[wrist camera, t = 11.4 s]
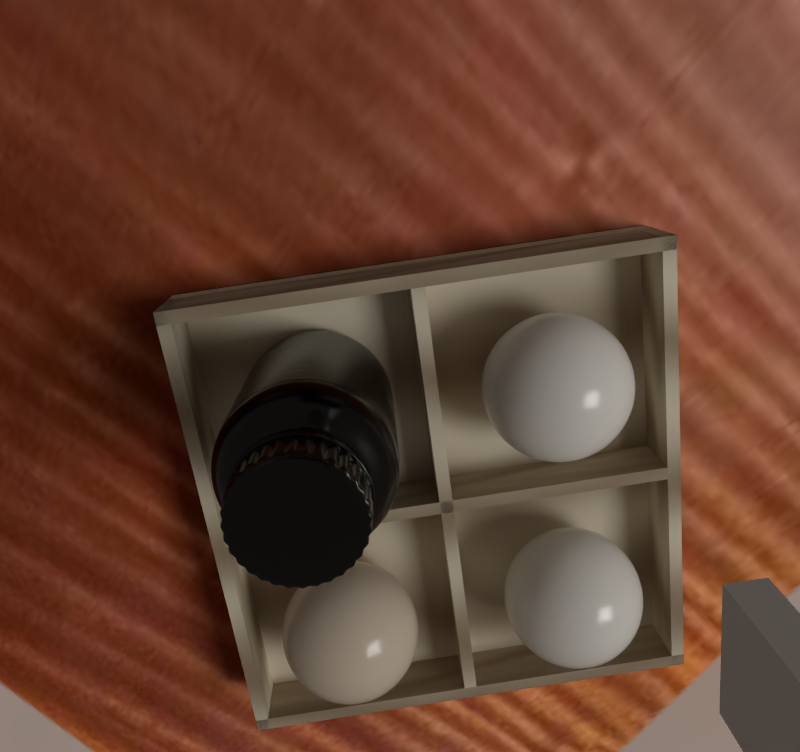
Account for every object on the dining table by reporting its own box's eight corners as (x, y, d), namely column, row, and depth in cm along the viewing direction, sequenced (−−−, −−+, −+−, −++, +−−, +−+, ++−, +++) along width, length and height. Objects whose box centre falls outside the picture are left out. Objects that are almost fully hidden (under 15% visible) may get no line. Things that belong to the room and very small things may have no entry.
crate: (172, 295, 33) (152, 312, 30) (644, 225, 33) (676, 234, 30) (266, 681, 40) (258, 730, 37) (656, 620, 40) (683, 663, 37)
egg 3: (487, 513, 36) (513, 588, 30) (612, 494, 36) (664, 565, 30) (499, 620, 38) (526, 710, 32) (618, 601, 39) (667, 688, 32)
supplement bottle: (421, 414, 34) (448, 551, 23) (303, 488, 35) (273, 655, 24) (337, 295, 32) (323, 382, 21) (215, 377, 33) (137, 502, 22)
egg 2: (464, 308, 33) (488, 347, 27) (602, 288, 33) (658, 322, 27) (478, 437, 35) (504, 500, 29) (608, 417, 35) (662, 475, 29)
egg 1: (277, 545, 36) (261, 627, 30) (404, 526, 36) (414, 604, 30) (300, 650, 38) (290, 747, 32) (420, 632, 38) (433, 725, 32)
